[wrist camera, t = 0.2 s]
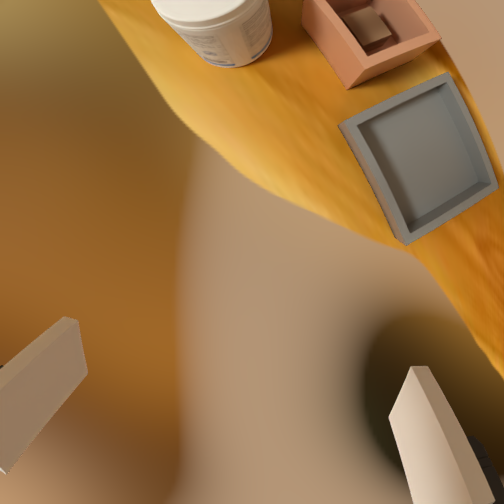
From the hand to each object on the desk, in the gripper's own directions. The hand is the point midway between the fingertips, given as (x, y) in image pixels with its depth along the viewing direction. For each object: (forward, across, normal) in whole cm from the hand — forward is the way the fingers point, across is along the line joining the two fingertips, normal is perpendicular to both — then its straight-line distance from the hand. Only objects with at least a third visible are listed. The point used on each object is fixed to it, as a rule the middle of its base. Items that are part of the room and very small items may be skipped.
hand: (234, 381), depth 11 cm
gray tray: (+28, +17, +11) cm, 34 cm away
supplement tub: (+28, -7, +23) cm, 37 cm away
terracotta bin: (+28, +8, +24) cm, 38 cm away
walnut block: (+27, +8, +24) cm, 37 cm away
